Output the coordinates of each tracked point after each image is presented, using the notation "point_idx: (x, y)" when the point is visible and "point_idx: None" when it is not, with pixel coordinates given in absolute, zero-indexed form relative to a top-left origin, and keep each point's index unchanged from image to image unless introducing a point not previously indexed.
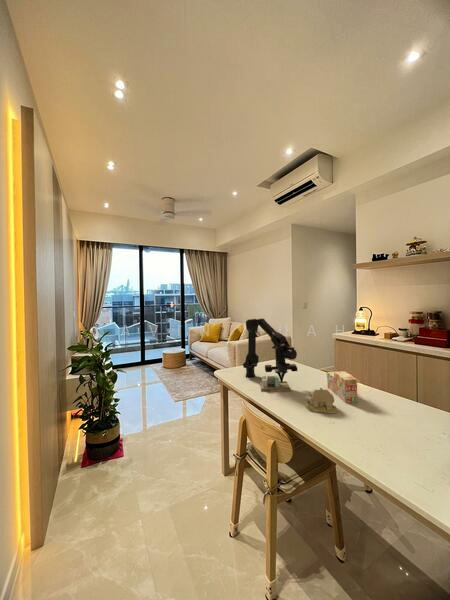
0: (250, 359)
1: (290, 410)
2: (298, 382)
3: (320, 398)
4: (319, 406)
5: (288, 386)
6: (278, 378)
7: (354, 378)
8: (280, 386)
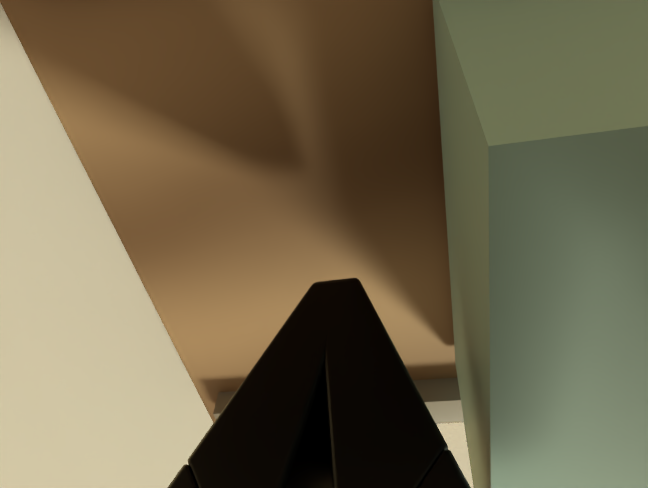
0: None
1: None
2: (11, 434)
3: None
4: None
5: (110, 157)
6: (511, 365)
7: None
8: (385, 127)
